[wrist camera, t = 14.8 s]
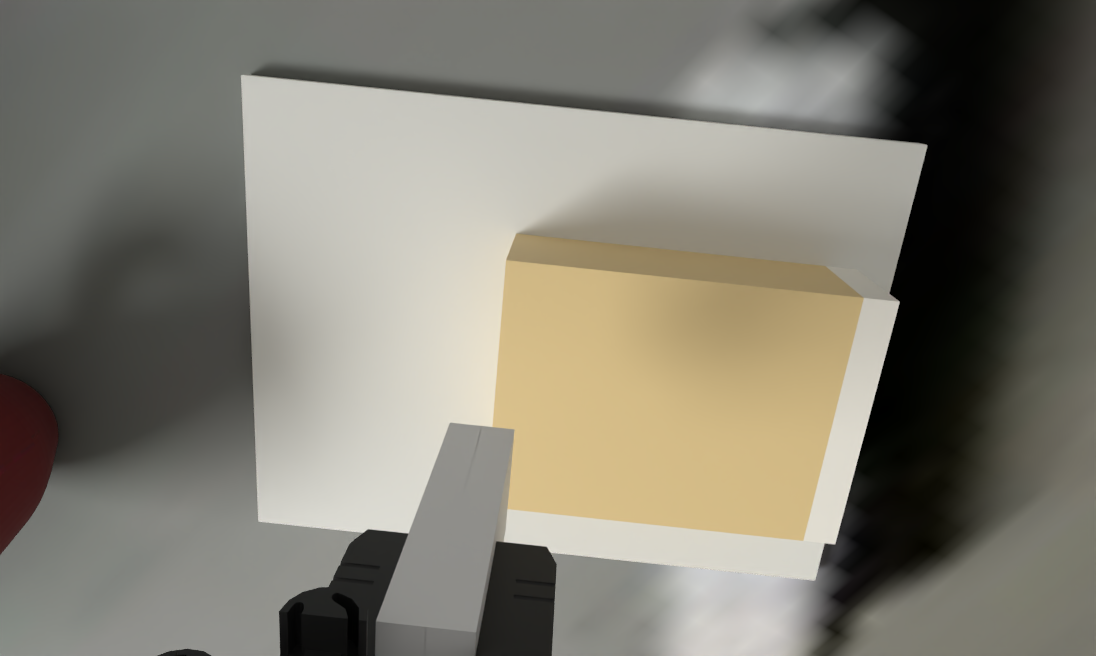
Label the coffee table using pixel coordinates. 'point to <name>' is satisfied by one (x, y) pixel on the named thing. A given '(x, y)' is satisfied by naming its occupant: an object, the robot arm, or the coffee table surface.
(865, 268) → the mat
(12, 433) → the mug
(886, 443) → the coffee table surface
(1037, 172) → the coffee table surface
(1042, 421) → the coffee table surface
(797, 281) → the slab
